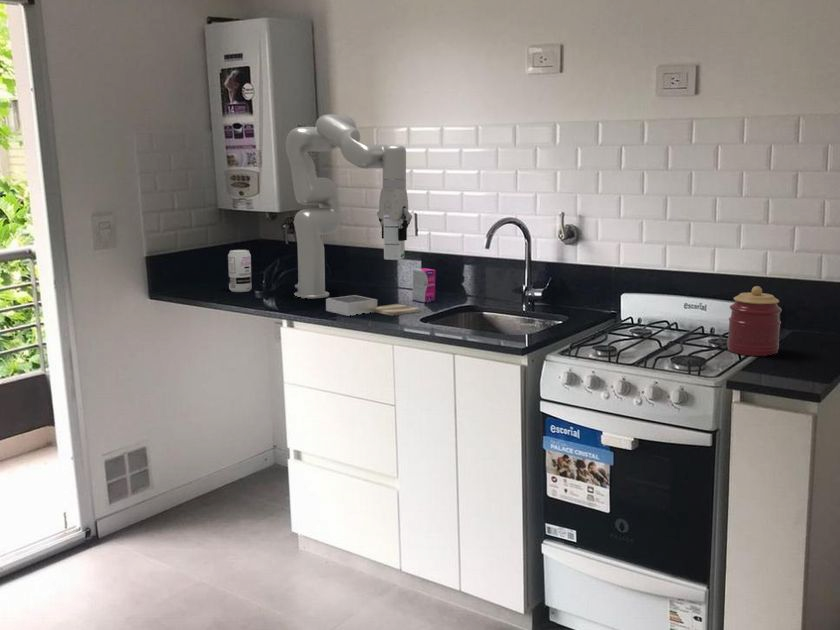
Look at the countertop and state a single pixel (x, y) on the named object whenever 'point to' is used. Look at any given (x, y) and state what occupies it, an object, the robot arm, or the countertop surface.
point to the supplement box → (423, 285)
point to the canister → (754, 324)
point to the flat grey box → (351, 305)
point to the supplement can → (239, 270)
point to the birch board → (396, 309)
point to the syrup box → (392, 240)
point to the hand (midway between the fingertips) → (394, 239)
